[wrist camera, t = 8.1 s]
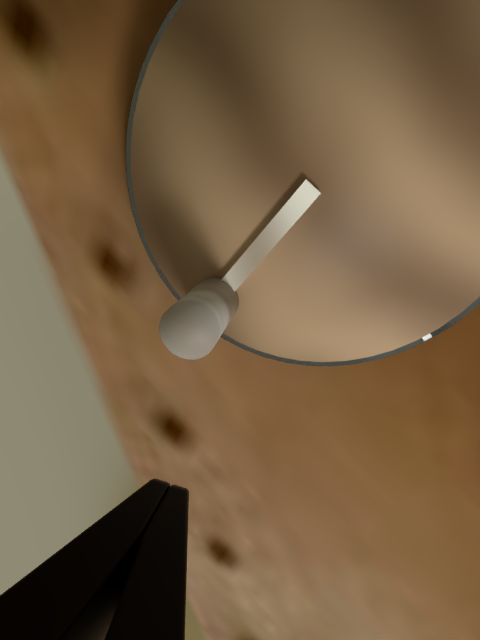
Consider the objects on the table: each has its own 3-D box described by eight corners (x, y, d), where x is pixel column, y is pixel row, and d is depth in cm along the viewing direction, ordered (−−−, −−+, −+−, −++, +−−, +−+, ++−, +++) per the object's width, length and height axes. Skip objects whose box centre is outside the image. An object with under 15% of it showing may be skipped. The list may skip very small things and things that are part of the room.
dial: (312, -192, 12) (306, -457, 7) (639, 148, 13) (831, 128, 8) (86, 203, 18) (-1, 211, 13) (323, 406, 20) (324, 482, 15)
